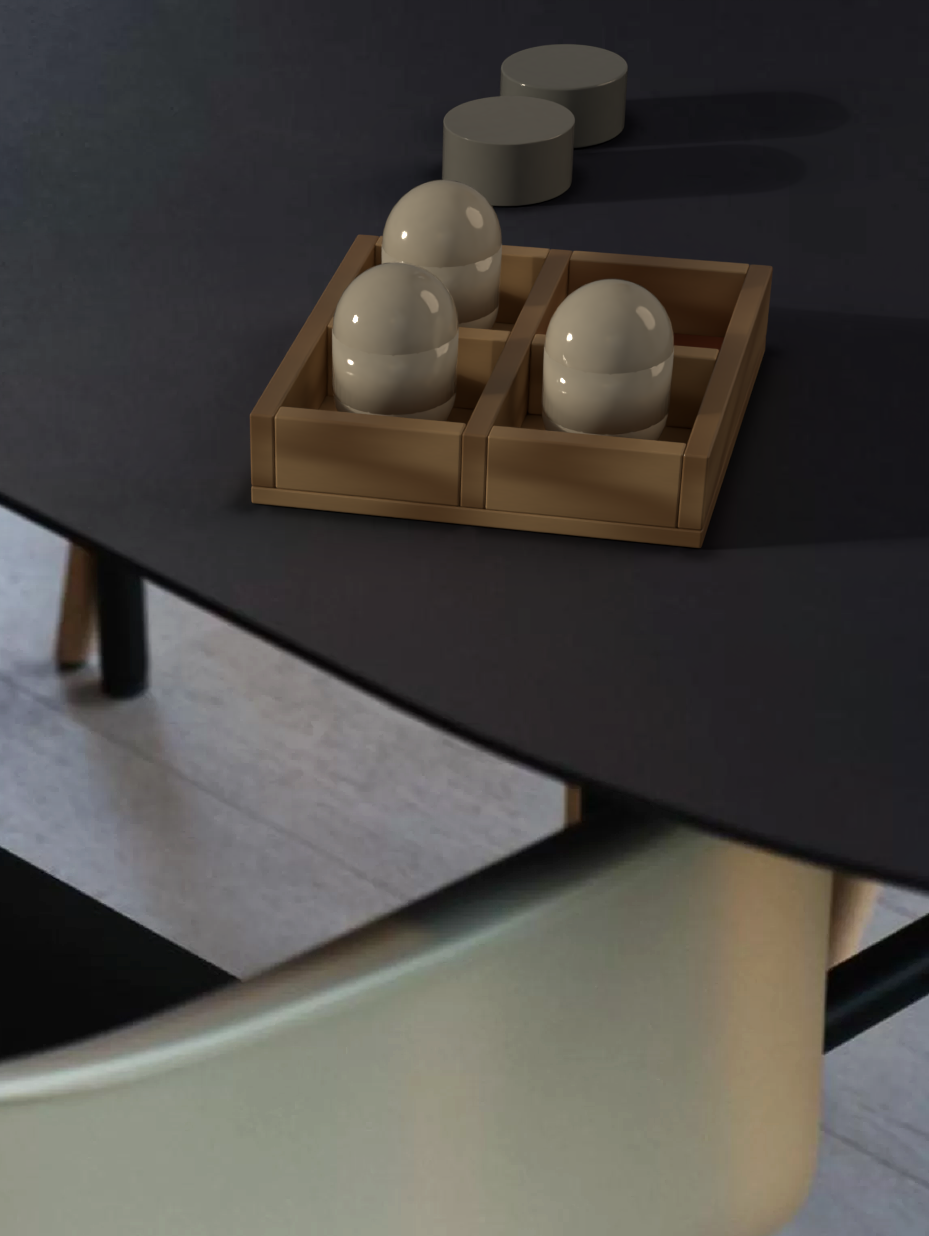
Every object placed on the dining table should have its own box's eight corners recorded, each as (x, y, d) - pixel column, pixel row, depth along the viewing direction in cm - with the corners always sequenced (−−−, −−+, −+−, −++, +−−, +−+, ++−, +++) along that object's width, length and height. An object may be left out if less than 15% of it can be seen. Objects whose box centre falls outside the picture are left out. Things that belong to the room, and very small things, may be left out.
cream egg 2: (467, 423, 96) (472, 246, 92) (440, 478, 93) (445, 298, 89) (348, 412, 97) (349, 237, 93) (319, 466, 94) (318, 288, 90)
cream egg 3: (673, 442, 94) (688, 262, 90) (653, 499, 91) (667, 316, 87) (551, 430, 95) (560, 253, 91) (527, 486, 92) (535, 305, 88)
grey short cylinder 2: (650, 123, 117) (654, 62, 115) (568, 159, 114) (571, 98, 112) (554, 94, 119) (557, 34, 118) (472, 128, 117) (474, 68, 115)
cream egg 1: (508, 336, 101) (515, 165, 97) (484, 386, 98) (490, 212, 94) (395, 327, 102) (397, 157, 98) (368, 376, 99) (369, 203, 95)
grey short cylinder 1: (560, 153, 115) (563, 91, 113) (581, 202, 111) (585, 139, 109) (433, 161, 115) (435, 100, 113) (451, 210, 111) (452, 148, 109)
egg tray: (764, 351, 100) (773, 265, 98) (701, 549, 90) (709, 456, 88) (357, 318, 104) (357, 233, 102) (251, 504, 93) (249, 413, 91)
